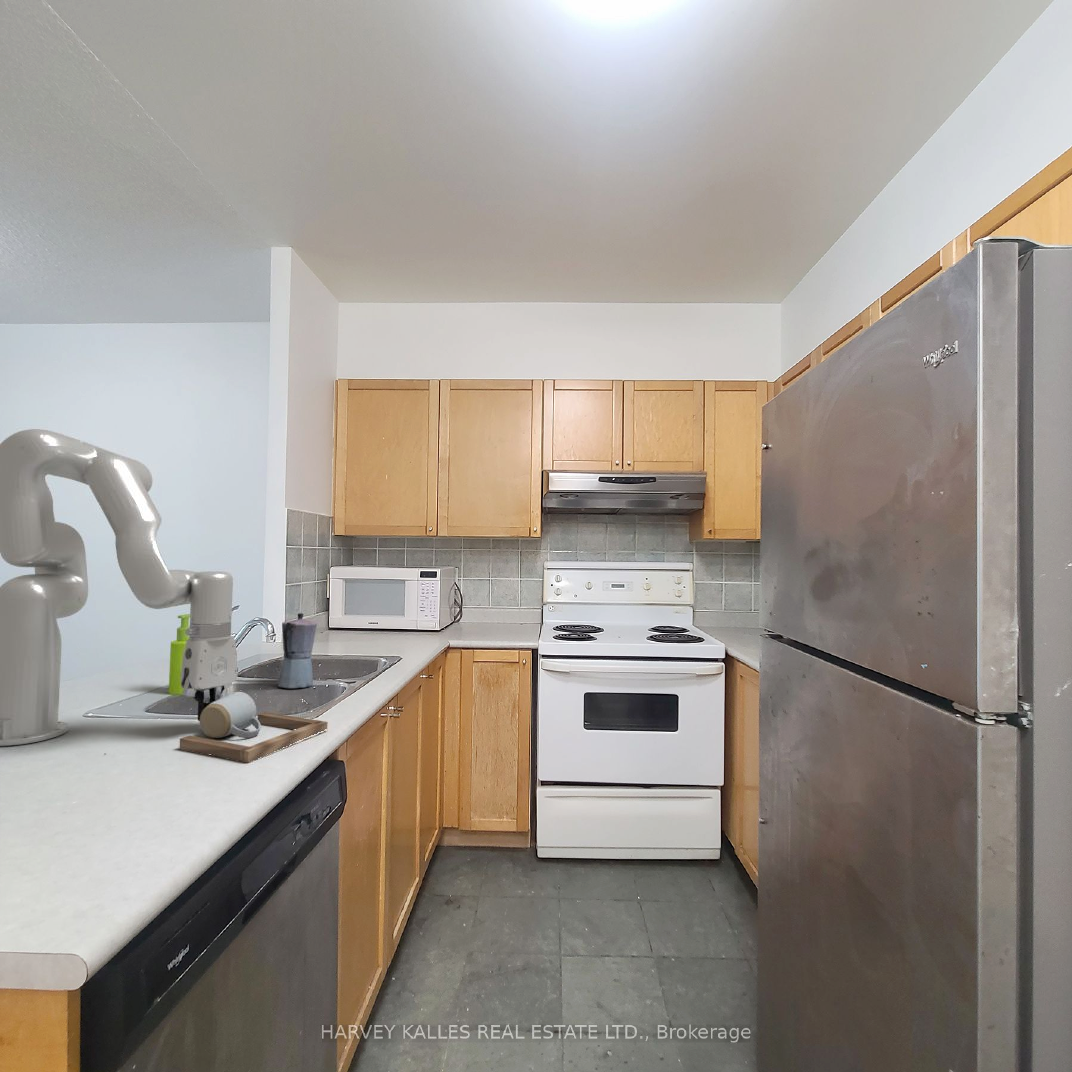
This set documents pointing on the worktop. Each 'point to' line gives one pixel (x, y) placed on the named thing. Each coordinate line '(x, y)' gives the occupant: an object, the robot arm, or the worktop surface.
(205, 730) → the ceramic mug
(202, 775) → the worktop surface
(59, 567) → the robot arm
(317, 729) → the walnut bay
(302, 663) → the moka pot
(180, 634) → the soap dispenser
